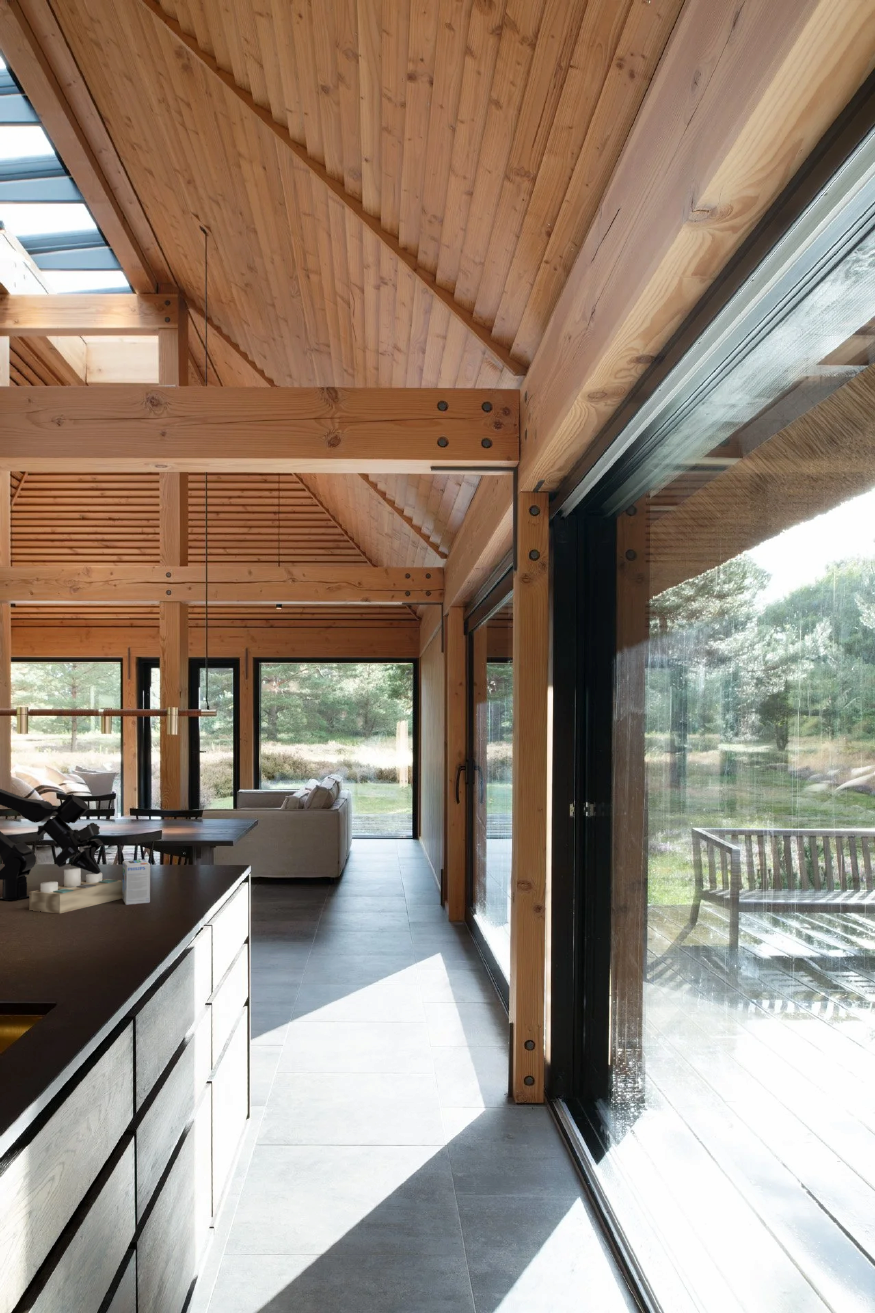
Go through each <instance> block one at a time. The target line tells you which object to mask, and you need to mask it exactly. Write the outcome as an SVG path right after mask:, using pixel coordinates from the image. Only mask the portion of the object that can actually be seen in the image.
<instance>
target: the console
mask: <svg viewBox="0 0 875 1313" xmlns="http://www.w3.org/2000/svg"><path fill="white" fill-rule="evenodd" d="M122 881H123V879H109V878H102V881H99V882H96V883H89V882H86V879H83V880H81V885H80V886H76V887H73V888H70V887H64V884H60V885H59V884H58V890H57V891H53V892H49V893H46V892H40V891H41V888H40V889H37V890H32V891H29V898H28V900H29V901H28V902H29V905H28V906H29V908H28V910H29V911H30V910H33V911H34V912H40V911H41V912H40V913H53V914H63V913H68V912H72V911H76V910H80V909H84V908H89V907H92V906H96V905H100V904H105V903H109V902H112V901H113V902H114V901H116V900H117V901H118V900H121V899H122ZM122 900H123V899H122ZM33 911H32V912H33Z"/></svg>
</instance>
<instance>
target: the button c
mask: <svg viewBox="0 0 875 1313" xmlns="http://www.w3.org/2000/svg"><path fill="white" fill-rule="evenodd" d="M102 879H103V872H100V873H99V874H95V873H92V872H89V873H86V875H85V880H86V882H89V883H96V882H99V881H102Z"/></svg>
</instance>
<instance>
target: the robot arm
mask: <svg viewBox="0 0 875 1313" xmlns="http://www.w3.org/2000/svg"><path fill="white" fill-rule="evenodd" d="M0 806H2V807H5V808H8V809H10V810H12V811H15V812H16V813H18V814H19V815H20V816H22V818H24V819H26V820H28V821H29V822H31V823H36V824H37V823H40V822H44V821H45V822H44V824H41V825H37V833H36V835H37V836H43V835H45V834H47V835H48V836H49V837H50V839H52V840H53V841H54V842H55V844H54V847H55V848H56V849H57V848H60V849H61V852H59V853H58V855H57V856H55V858H54V864H56V866H58V868H62V867H65V866H66V862H67V861H68V860H69V859H72V862H71V863H70V866H71V867H74V868H81V870H85V871H87V872H89V873H95V874H99V873H102V871H101V868H100V866H99V864H98V862H97V859H96V857H95V853H96V852H97V851H98V850H99V849H100V848H101V847H102V846H103V845H104V843H103V841H102V840H101V839H99V838H94V839H91V838H93V837H95V836H98V835H100V826H99V825H98V824H97V823H95V822H91V823H90V824H86V826H85V827H83V828H81V829H77V828H75V829H73V828H72V827H71V826H70V825H69V824H75V823H76V822H77V821H78V820H79V819H80V818H81V817H83V815H84V814H85V813H86V812H87V811H88V810H89V805H88V804H87V803H86V802H85V800H84V799H81V798H79V797H77V796H75V795H74V793H73V794H72V793H71V794H68V795H67V796H66V798H65V799H64V800H63V801H62V802H61V804H59V805H53V803H51V802H50V801H47V800H41V799H36V798H29V797H23V796H22V795H18V794H15V793H12V792H9V791H8V790H4V789H2V788H0ZM54 815H55V816H54ZM53 816H54V817H53ZM52 817H53V818H52ZM89 839H90V840H89ZM34 851H35V850H34V849H32V848H30V847H29V846H28V845H27V843H26V842H24V841H22V842H19V843H15V842H13V841H12V840H11V838H8V836H6V835H5V834H4V833H3V832H2V831H1V830H0V858H1V862H2V863H3V864H4V866H2V868H1V869H0V881H1V880H2V889H1V890H2V896H1V897H0V899H5V900H4V901H8V900H15V901H17V900H16V899H19V900H21V899H20V898H24V899H28V898H27V897H29V895H30V894H29V895H28V881H27V876H29V875H30V873H31V870H32V869H33V868H34V867H35V865H36V863H37V862H36V861H37V860H36V859H37V857H36V854H35V853H34Z"/></svg>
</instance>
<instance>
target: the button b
mask: <svg viewBox="0 0 875 1313" xmlns="http://www.w3.org/2000/svg"><path fill="white" fill-rule="evenodd" d="M81 876H82V869H81V868H78V867H69V868H64V869H63V885H64V887H70V888H73V887H76V886H80V885H81V881H82V878H81Z"/></svg>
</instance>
